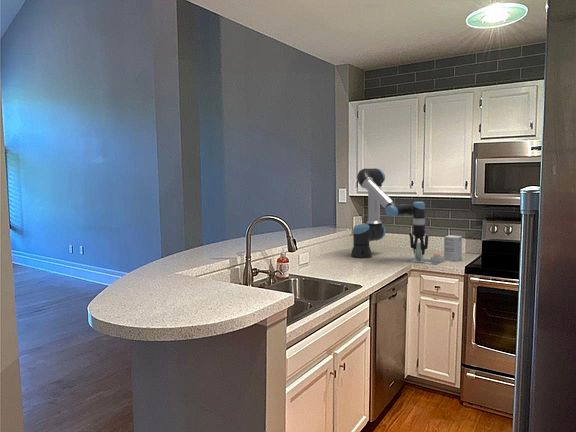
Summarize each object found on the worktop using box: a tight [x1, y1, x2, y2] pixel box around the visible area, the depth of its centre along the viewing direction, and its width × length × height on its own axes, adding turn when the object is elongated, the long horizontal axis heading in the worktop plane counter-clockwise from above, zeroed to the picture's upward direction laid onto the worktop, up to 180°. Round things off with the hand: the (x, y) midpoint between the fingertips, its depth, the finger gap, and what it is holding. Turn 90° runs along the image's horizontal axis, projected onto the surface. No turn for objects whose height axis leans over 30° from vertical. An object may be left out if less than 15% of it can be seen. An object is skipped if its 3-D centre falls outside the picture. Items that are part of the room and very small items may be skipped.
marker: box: [416, 242, 422, 261], centre depth 284 cm, size 4×4×12 cm
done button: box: [433, 252, 441, 257], centre depth 282 cm, size 4×4×4 cm
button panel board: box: [404, 255, 446, 266], centre depth 283 cm, size 22×16×4 cm
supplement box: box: [443, 234, 463, 262], centre depth 286 cm, size 10×9×17 cm
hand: (419, 258), depth 284 cm, fingers closed on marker, 3 cm apart
